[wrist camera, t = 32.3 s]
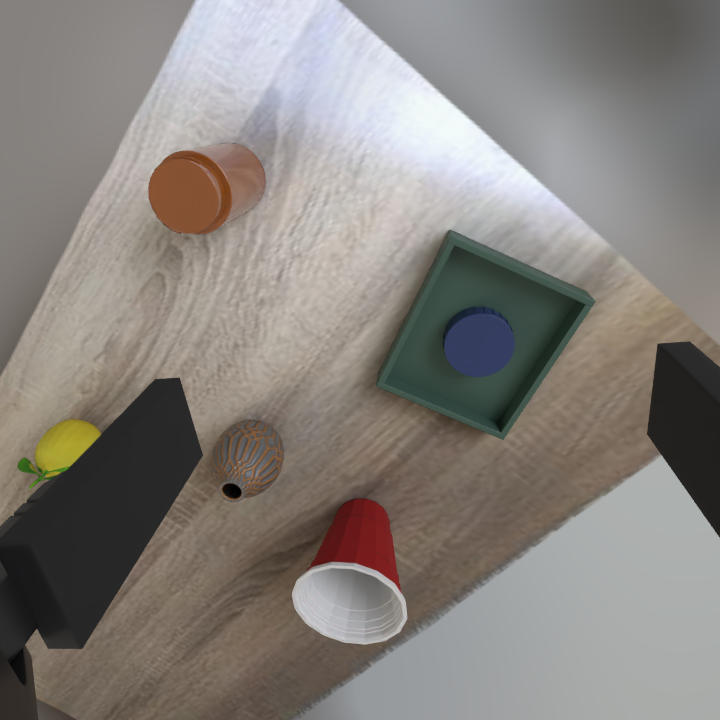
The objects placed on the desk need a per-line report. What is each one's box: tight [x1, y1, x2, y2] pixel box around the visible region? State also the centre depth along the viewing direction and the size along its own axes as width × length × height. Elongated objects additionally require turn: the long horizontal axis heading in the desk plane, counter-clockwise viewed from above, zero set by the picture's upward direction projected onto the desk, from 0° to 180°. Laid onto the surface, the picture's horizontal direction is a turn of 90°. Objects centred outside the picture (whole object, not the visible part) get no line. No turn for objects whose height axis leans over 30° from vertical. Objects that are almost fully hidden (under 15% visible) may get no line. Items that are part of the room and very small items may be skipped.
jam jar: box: [148, 143, 266, 234], centre depth 40 cm, size 6×6×11 cm
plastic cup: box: [292, 499, 407, 644], centre depth 54 cm, size 11×11×12 cm
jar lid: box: [443, 306, 515, 377], centre depth 47 cm, size 6×6×2 cm
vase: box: [211, 420, 284, 502], centre depth 52 cm, size 7×7×9 cm
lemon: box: [18, 419, 101, 489], centre depth 53 cm, size 7×6×10 cm
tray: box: [376, 230, 595, 439], centre depth 47 cm, size 15×13×2 cm
